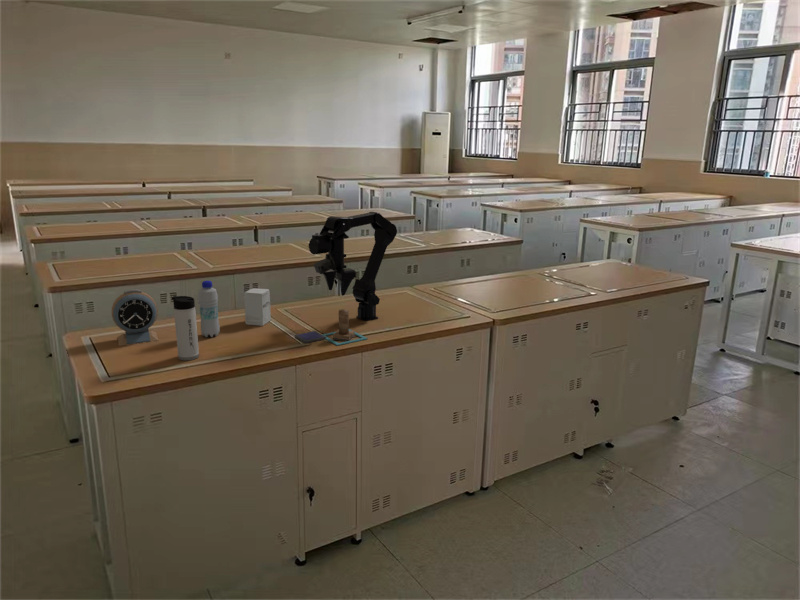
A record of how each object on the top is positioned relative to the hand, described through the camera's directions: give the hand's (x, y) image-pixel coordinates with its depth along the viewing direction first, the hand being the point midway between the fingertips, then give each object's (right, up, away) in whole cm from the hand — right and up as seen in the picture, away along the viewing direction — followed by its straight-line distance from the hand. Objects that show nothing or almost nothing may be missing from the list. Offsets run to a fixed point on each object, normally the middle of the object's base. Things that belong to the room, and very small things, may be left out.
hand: (336, 292), depth 211 cm
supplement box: (-31, -12, +6) cm, 33 cm away
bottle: (-44, -16, -10) cm, 47 cm away
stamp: (+4, -16, -9) cm, 19 cm away
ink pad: (-8, -16, -11) cm, 21 cm away
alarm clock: (-67, -17, -15) cm, 71 cm away
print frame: (+4, -16, -9) cm, 19 cm away
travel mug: (-44, -21, -30) cm, 58 cm away
